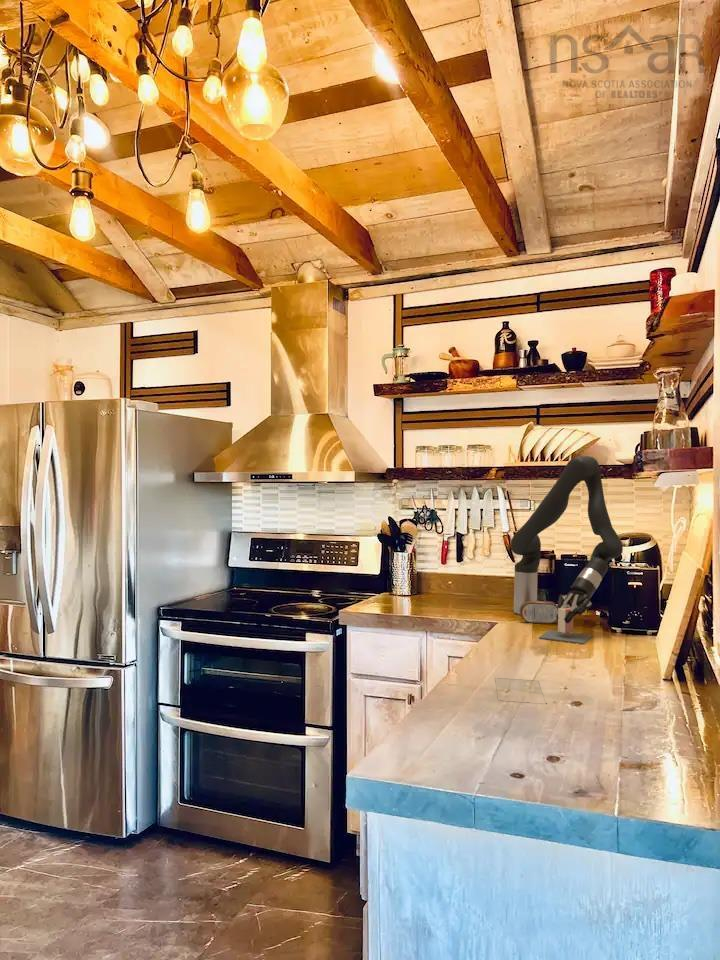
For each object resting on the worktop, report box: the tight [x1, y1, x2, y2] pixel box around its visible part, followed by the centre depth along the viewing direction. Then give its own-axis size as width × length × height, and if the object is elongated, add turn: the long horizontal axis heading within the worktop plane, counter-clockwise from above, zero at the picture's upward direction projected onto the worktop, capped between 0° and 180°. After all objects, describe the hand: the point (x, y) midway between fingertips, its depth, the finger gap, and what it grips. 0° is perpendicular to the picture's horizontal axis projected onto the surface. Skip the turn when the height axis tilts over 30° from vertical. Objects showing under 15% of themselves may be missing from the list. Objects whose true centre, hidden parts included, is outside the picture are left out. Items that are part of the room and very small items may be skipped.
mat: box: [538, 629, 593, 645], centre depth 239 cm, size 14×15×1 cm
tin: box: [519, 600, 558, 625], centre depth 263 cm, size 15×3×8 cm, turn 84°
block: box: [557, 607, 574, 633], centre depth 239 cm, size 3×4×8 cm
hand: (562, 620), depth 238 cm, fingers closed on block, 3 cm apart
